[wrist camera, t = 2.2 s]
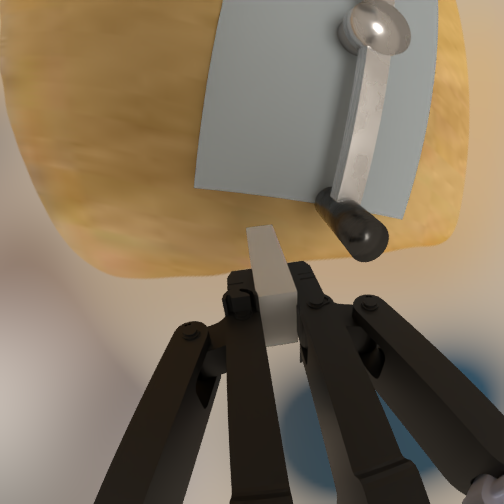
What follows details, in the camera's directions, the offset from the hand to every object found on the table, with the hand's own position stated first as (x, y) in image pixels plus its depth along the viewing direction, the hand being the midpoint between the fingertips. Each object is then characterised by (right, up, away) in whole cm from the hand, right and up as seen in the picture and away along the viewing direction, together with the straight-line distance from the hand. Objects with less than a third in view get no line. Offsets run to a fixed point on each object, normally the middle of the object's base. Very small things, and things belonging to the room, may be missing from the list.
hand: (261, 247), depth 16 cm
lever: (+7, +14, 0) cm, 15 cm away
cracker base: (+6, +15, +1) cm, 16 cm away
